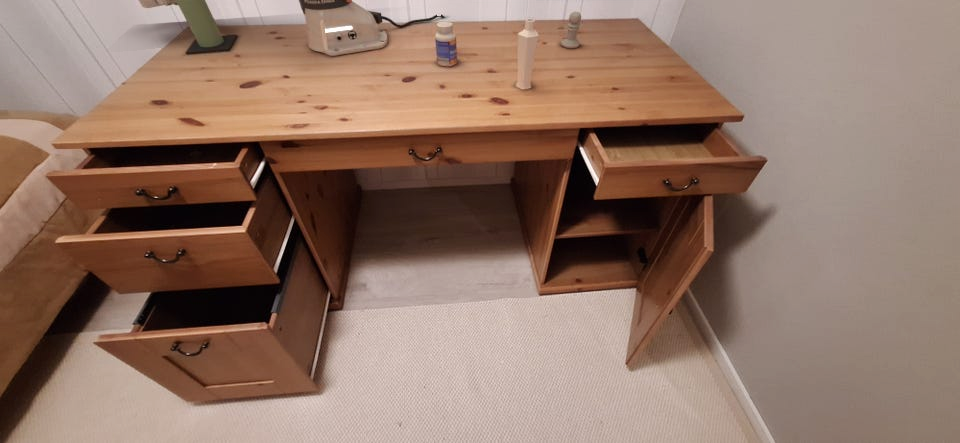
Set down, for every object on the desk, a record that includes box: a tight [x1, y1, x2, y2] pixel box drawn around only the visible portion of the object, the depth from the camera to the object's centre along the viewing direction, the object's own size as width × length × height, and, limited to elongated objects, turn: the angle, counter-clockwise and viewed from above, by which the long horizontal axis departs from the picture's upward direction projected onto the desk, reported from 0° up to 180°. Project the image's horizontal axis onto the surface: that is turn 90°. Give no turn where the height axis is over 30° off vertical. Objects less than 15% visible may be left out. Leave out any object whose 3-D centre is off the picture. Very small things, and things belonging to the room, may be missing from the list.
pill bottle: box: [434, 21, 458, 67], centre depth 98 cm, size 5×5×10 cm
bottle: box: [176, 0, 224, 47], centre depth 102 cm, size 6×6×17 cm
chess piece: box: [560, 10, 582, 49], centre depth 107 cm, size 5×5×9 cm
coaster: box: [185, 33, 238, 55], centre depth 109 cm, size 11×11×1 cm
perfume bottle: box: [515, 18, 540, 91], centre depth 87 cm, size 5×4×15 cm
